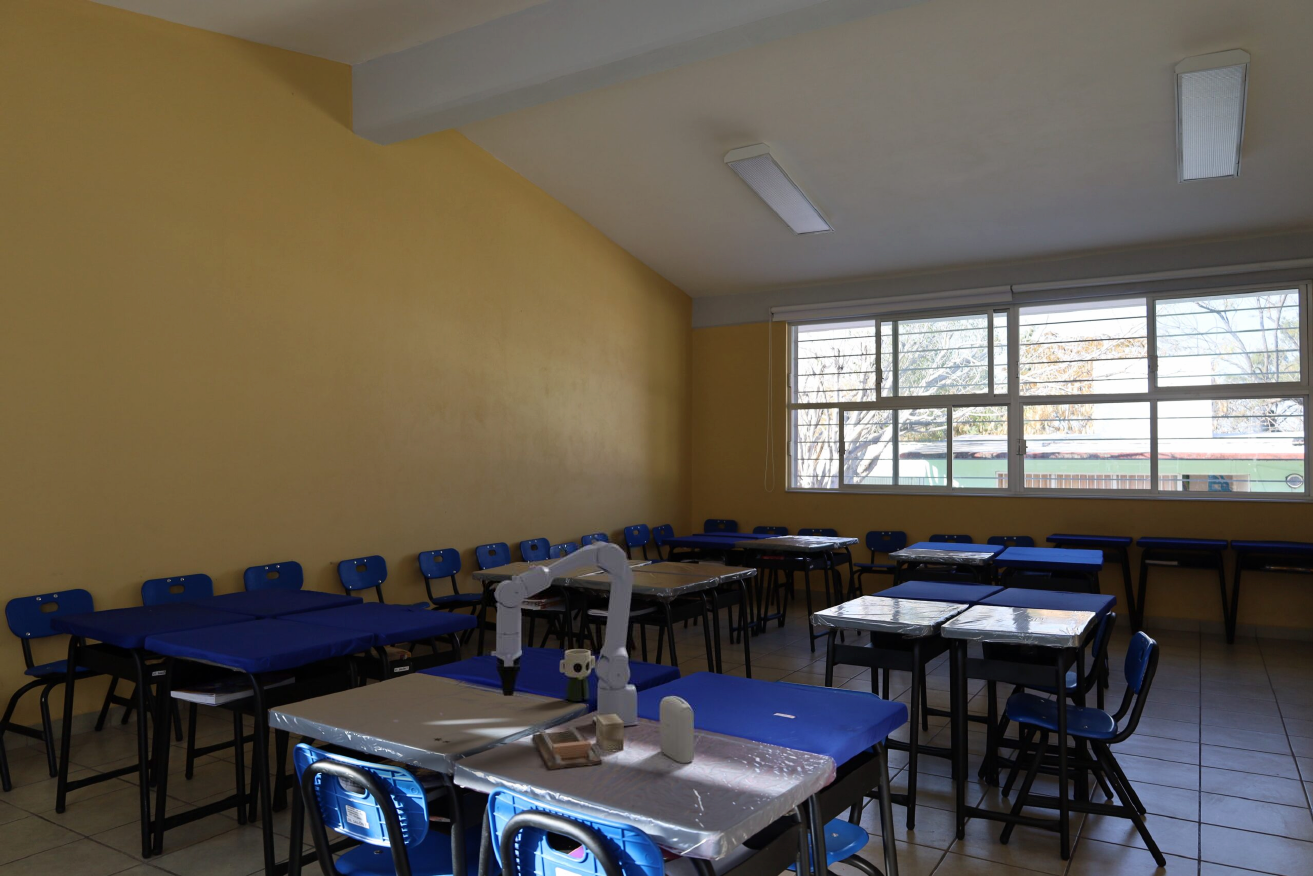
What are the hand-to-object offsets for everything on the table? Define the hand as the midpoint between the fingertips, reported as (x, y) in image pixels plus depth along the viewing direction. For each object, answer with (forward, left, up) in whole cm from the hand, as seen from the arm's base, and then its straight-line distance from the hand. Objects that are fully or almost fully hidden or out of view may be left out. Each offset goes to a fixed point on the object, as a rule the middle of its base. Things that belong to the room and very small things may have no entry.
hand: (508, 691), depth 188 cm
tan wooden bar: (-11, +22, -10) cm, 26 cm away
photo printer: (-33, +26, -10) cm, 43 cm away
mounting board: (-11, +15, -10) cm, 21 cm away
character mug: (-22, -25, -10) cm, 35 cm away
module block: (-21, +15, -10) cm, 28 cm away
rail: (-11, +15, -10) cm, 21 cm away
